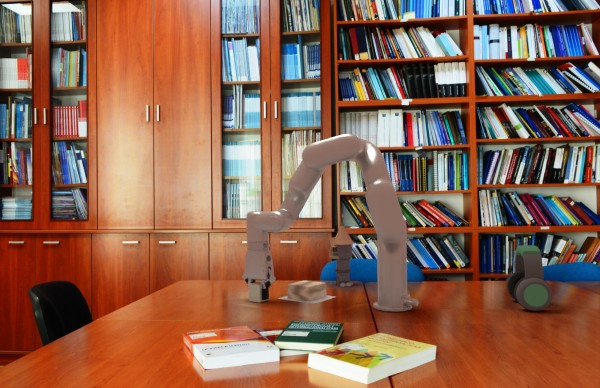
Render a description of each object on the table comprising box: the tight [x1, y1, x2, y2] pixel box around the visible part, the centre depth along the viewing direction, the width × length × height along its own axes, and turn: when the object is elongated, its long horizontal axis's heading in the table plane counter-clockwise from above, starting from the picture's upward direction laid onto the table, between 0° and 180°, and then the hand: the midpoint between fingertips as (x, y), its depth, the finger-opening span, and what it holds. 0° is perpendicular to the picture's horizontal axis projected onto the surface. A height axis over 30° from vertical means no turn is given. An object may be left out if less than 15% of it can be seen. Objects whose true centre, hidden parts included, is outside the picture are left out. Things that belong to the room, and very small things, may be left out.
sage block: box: [248, 281, 270, 303], centre depth 175 cm, size 5×5×6 cm
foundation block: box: [286, 279, 327, 302], centre depth 179 cm, size 10×10×5 cm
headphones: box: [506, 244, 553, 312], centre depth 165 cm, size 19×11×20 cm, turn 168°
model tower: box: [326, 213, 355, 288], centre depth 208 cm, size 10×11×30 cm
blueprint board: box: [277, 294, 336, 304], centre depth 179 cm, size 16×14×1 cm
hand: (259, 298), depth 175 cm, fingers closed on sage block, 5 cm apart
